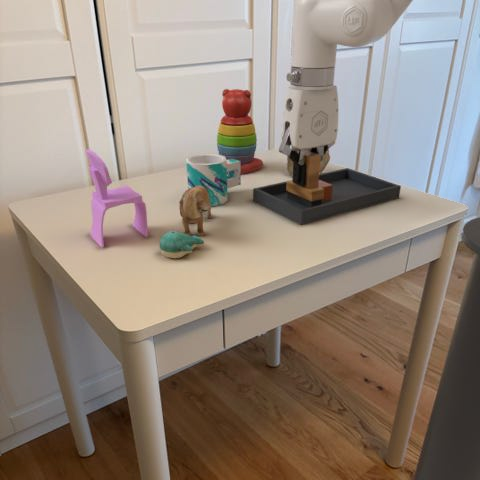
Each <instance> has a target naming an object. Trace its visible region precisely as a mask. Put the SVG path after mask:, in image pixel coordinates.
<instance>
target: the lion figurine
mask: <svg viewBox="0 0 480 480" xmlns="http://www.w3.org/2000/svg"><path fill="white" fill-rule="evenodd" d="M210 205H211V204H210V203H209V195H208V192H207V189H206V188H205V187H202V186H200V185H199V186H196V187H193V188H191V189H188V188H187V190H185V191H184V192H183V193H182V196H181V198H180V201H179V215H180V217H181V218H182V219H181V220H182V224H183V230H184V232H182V233H183V234H187V235H190V236H191V229H190V224H195V223H197V226H196V227H197V228H196V232H197V235H198V237H199V236H201V237H202V236H205V235H206V232H205V231H204V214H205V219H212V216H213V215H212V211H211V210H212V206H211V207H210Z"/></svg>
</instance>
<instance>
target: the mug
mask: <svg viewBox="0 0 480 480" xmlns="http://www.w3.org/2000/svg"><path fill="white" fill-rule="evenodd" d="M185 163H186V176H187V190H188V189H191V188H193V187H196V186H199V185H200V186H202V187H205V188H206V189H207V192H208V195H209V203H210V204H211V205H210V207H211V208H212V207H217V206H221V205H223V204H225V203H227V202H228V201H229V200H228V189H231V188H234V187H238V186H241V185H242V177H241V175H242V174H241V165H240V161H239V160H235V159H229V160H226V157H224V156H221V155H219V154H217V153H200V154H192V155H191V156H189V157H186V158H185ZM227 172H228V174H227Z"/></svg>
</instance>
